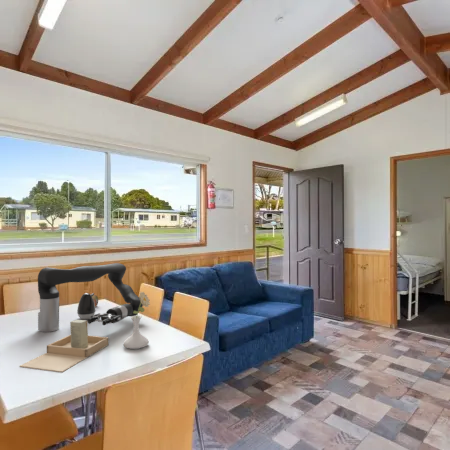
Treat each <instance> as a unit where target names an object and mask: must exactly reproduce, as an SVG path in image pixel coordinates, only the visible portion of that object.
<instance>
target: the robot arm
mask: <svg viewBox="0 0 450 450" xmlns="http://www.w3.org/2000/svg"><path fill="white" fill-rule="evenodd" d="M126 270H127V268H126V266H125V265H124V264H122V263H119V262H117V263H115V262H114V263H108V264H103V265H83V266H77V267H75V268H74V267H73V268H70V269H69V268H67V269H66V268H54V267H43V268H42V269H41V270H40V271H39V272H38V275H37V290H38V291H37V292H38V294H39V312H38V313H37V316H38V317H37V321H38V322H37V331H39V332H41V333H49V332H50V333H51V332H54V331H57V330H59V329H60V291H59V290H58V289H57V285H63V284H68V283H89V282H95V281H96V280H98V279H101V278H102V277H104V276H105V275H107V277H108V280H109V281H110V282H111V284H112V285H114V287H115V288H116V289H117V291H119V293H120V294H121V296H122V298H123V300H124V302H125V303H124V304H121V305H118V306H117V305H116V306H114V307H111V308H108V309H107V310H106V312H105V313H95V314H94V315H92V316H91V318H90V319H87V324H92V323H95V322H99V323H102V326H105V325H108V324H115V323H116V324H117V322H118V323H119V321H121V320H124V319H125V318H127V317H132V316H137V314H135V313H133V312H134V311H137V312H138V309H139V306H140V307H143V308H144V306H143V305H142V303H141V302H140V298H139V295H137V294H136V293H135V291H134V290H133V287H131V286H130V285H129V284H126V283H125V284H124V283H123V281H122V280H123V278H124V275H125V274H126V272H127V271H126ZM140 303H141V305H140ZM139 312H140V310H139Z"/></svg>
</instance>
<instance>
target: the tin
mask: <svg viewBox="0 0 450 450" xmlns="http://www.w3.org/2000/svg"><path fill="white" fill-rule="evenodd" d="M92 298H93V300H94V303H95V308H96V307H98V304H99V297H98V295H96V294H94V295H93V296H92Z"/></svg>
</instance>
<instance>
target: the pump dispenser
mask: <svg viewBox="0 0 450 450" xmlns="http://www.w3.org/2000/svg"><path fill="white" fill-rule="evenodd" d="M93 295H95V293H94V292H92V293H89V292H85V293H84V294H82V295H81V297H80V298H79V301H78V306H77V312H76V314H77V315H78V318H79V319H80V320H88V319H90V318H91V316H92V315H95V314H96V310H97V309H96V307H95V303H94V300H93V298H92V296H93Z"/></svg>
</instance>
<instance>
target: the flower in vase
mask: <svg viewBox="0 0 450 450" xmlns="http://www.w3.org/2000/svg"><path fill="white" fill-rule="evenodd" d="M138 297H139V298H140V302H141V303H142V305H143V307H140V306H139V309H138V312H137V311H134V312H133V313H135V314H137V315H136V316H130V319H131V321H132V324H133V333H132V334H131V335H130V336H128V337H127V338H126V339H125V340H124V341H123V344H122V345H123V346H124V347H125V348H127V349H131V350H137V349H141V348H144V347H146V346H148V344H149V341H150V340H149V339H148V338H147V337H146V336H144V335H143V334H142V333H141V332H140V328H139V327H140V322H141V319H142V317H143V316H142V315H138V314H139V312H140V313H144V312H145V310H146V309H145V308H149V307H150V305H151V303H150V299H149V297H148V294H145V291H140V292H139V294H138ZM141 303H140V305H141ZM144 307H145V308H144ZM139 310H140V311H139Z"/></svg>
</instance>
